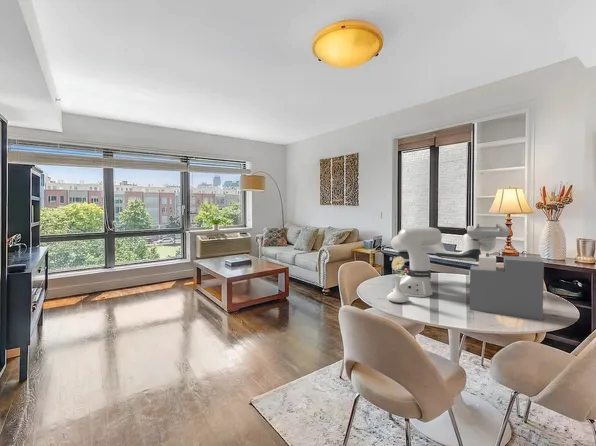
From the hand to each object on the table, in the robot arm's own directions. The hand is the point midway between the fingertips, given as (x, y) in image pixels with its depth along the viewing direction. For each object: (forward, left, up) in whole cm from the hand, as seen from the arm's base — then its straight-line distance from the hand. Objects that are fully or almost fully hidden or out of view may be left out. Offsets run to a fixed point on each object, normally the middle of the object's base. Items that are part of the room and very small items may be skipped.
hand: (487, 225), depth 164 cm
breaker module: (-6, -16, -20) cm, 27 cm away
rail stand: (-1, -23, -40) cm, 47 cm away
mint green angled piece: (+10, +31, -41) cm, 52 cm away
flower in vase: (-49, -17, -41) cm, 66 cm away
